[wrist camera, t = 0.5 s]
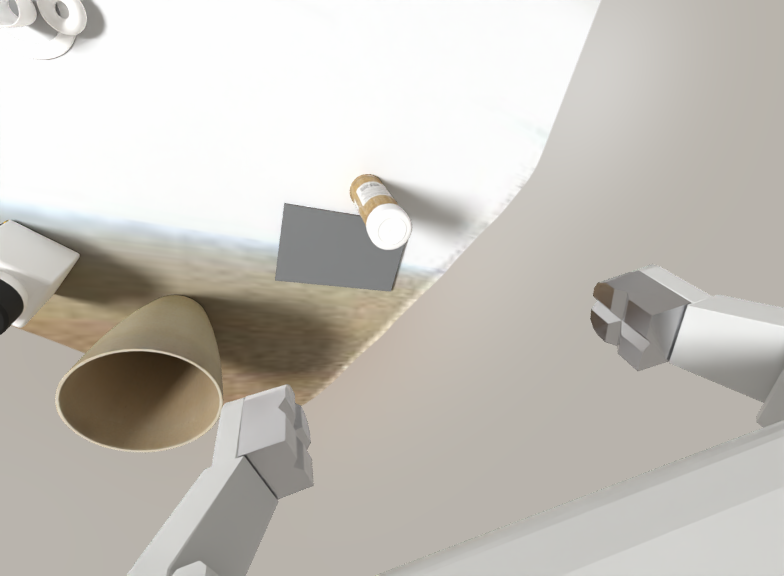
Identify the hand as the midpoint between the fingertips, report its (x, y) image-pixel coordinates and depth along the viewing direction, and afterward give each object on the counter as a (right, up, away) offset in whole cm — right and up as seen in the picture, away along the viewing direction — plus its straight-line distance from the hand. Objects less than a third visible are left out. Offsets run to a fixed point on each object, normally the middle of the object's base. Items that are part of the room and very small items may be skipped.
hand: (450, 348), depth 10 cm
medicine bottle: (-43, +5, +34) cm, 55 cm away
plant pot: (-31, -2, +43) cm, 53 cm away
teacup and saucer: (-33, +24, +26) cm, 48 cm away
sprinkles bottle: (-5, +14, +40) cm, 42 cm away
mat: (-8, +7, +43) cm, 44 cm away
